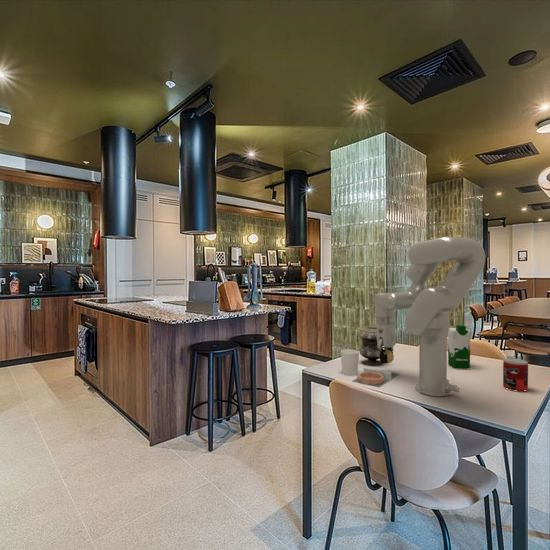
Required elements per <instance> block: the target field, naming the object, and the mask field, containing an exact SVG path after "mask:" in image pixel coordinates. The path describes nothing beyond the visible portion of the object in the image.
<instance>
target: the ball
mask: <svg viewBox="0 0 550 550" xmlns="http://www.w3.org/2000/svg"><path fill="white" fill-rule="evenodd" d="M392 352H393V351H392ZM392 352H391V351H390V350H386V354H387V362H388V363H387V364H390V363H392V362H393V361H394V359H395V358H394V357H395V356H394V352H393V353H392ZM379 357H380V355H379Z"/></svg>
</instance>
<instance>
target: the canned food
mask: <svg viewBox="0 0 550 550" xmlns="http://www.w3.org/2000/svg"><path fill="white" fill-rule="evenodd" d="M528 362H529V361H527V360H524V359H520V358H514V357H513V358H511V357H509V358H508V357H507V358H503V363H502V368H503V369H502V372H503V373H502V381H503V382H502V386H503V388H504V387H505V389H506V388H508V389H511V390H517V391H524V390H527V391H528V389H529V363H528ZM508 389H507V390H508ZM511 390H510V391H511Z"/></svg>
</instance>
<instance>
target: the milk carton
mask: <svg viewBox="0 0 550 550" xmlns="http://www.w3.org/2000/svg"><path fill="white" fill-rule="evenodd" d="M471 336H472V330H470V329H467V326H466V325H463V324H456V325H455V327H449V331H448V337H447V363H448V364H449V365H448V366H449V367H451V366H452V367H451V368H452V369H454V368H470V369H471Z"/></svg>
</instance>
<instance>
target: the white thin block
mask: <svg viewBox="0 0 550 550" xmlns="http://www.w3.org/2000/svg"><path fill="white" fill-rule="evenodd" d="M380 370H381V369H376V370H375V368H374V369H373V368H368V367H363V372H373V373H378V374H381V375H382V376H384V379H386V380H390V381H392V380H391V373H390V371H387V372H385V371H386V370H381V371H380Z"/></svg>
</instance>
